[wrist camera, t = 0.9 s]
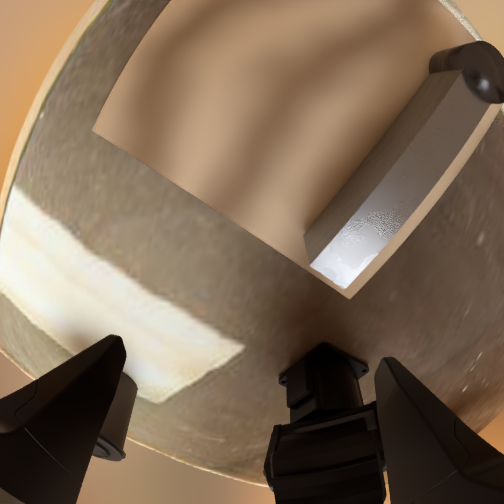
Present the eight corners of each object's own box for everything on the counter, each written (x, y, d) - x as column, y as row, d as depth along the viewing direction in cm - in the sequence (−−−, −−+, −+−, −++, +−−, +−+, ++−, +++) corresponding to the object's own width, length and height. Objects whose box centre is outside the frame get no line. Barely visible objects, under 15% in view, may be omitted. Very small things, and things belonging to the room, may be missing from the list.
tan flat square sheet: (504, 87, 13) (511, 88, 12) (346, 292, 22) (349, 299, 21) (275, -90, 9) (274, -97, 8) (99, 129, 17) (91, 130, 16)
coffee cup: (161, 400, 30) (138, 471, 21) (116, 403, 32) (90, 462, 23) (119, 353, 27) (80, 428, 18) (76, 361, 29) (39, 422, 20)
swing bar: (443, 40, 12) (481, 29, 8) (477, 80, 12) (518, 79, 8) (296, 230, 18) (301, 263, 14) (338, 260, 19) (352, 298, 15)
